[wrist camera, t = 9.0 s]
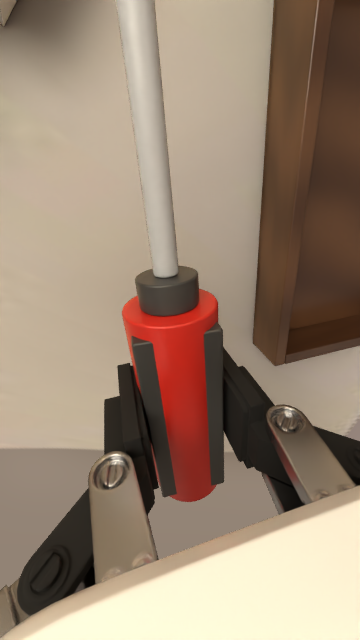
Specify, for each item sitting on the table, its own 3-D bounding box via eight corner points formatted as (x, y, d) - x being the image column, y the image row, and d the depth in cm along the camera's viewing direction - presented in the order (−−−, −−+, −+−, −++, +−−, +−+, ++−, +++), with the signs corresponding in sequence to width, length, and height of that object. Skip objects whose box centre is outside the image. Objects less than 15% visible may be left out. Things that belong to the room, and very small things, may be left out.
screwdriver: (58, -20, 6) (-1, -199, 3) (189, -21, 6) (237, -179, 4) (153, 446, 14) (160, 510, 11) (210, 434, 14) (230, 493, 12)
